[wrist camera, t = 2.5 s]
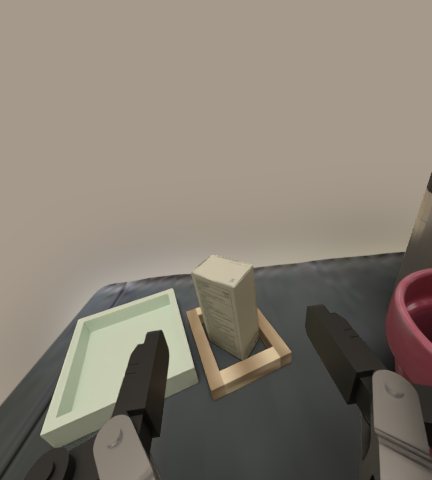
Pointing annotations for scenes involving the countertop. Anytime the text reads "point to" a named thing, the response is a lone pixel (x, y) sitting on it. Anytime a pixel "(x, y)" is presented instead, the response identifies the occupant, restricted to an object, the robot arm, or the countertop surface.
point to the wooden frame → (245, 369)
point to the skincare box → (228, 304)
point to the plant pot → (412, 328)
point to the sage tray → (113, 364)
